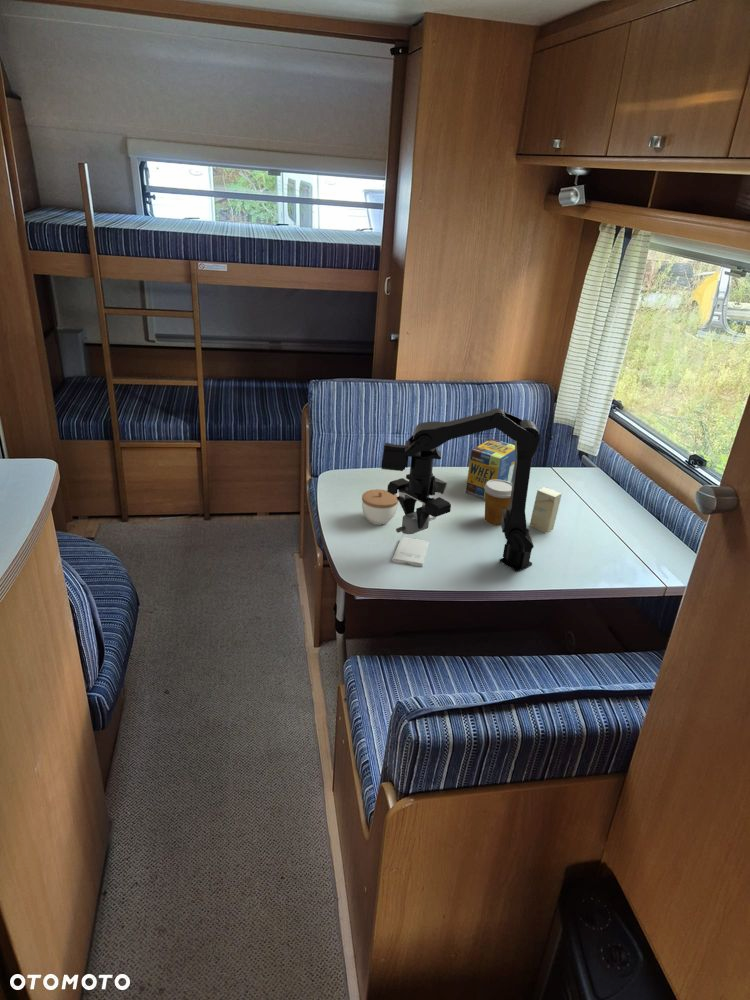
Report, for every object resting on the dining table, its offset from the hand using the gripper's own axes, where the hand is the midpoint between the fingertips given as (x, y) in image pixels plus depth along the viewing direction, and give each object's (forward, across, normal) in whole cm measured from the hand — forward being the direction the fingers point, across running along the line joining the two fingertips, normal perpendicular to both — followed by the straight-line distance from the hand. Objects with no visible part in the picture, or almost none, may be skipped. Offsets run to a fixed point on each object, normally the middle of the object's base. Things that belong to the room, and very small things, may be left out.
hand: (415, 525), depth 175 cm
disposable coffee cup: (+9, 0, -35) cm, 36 cm away
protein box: (+9, +16, -51) cm, 54 cm away
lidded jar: (+9, +20, -5) cm, 22 cm away
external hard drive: (+9, 0, 0) cm, 9 cm away
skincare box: (+9, -11, -44) cm, 46 cm away
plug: (+1, 0, 0) cm, 1 cm away
